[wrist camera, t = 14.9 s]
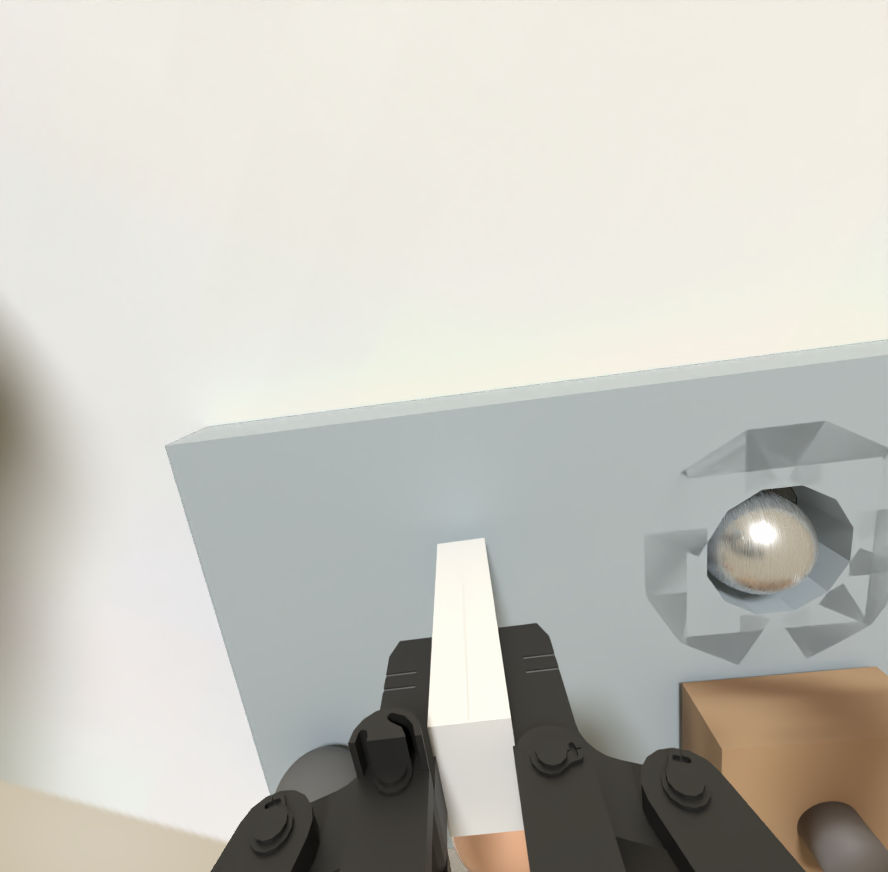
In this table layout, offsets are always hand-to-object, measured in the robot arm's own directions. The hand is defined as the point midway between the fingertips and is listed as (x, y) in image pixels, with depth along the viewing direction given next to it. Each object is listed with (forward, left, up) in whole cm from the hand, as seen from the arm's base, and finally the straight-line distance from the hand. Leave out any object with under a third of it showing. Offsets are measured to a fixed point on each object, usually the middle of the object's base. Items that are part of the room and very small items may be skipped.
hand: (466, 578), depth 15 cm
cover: (+10, -8, 0) cm, 13 cm away
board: (+3, -4, -3) cm, 6 cm away
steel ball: (+10, 0, -1) cm, 10 cm away
